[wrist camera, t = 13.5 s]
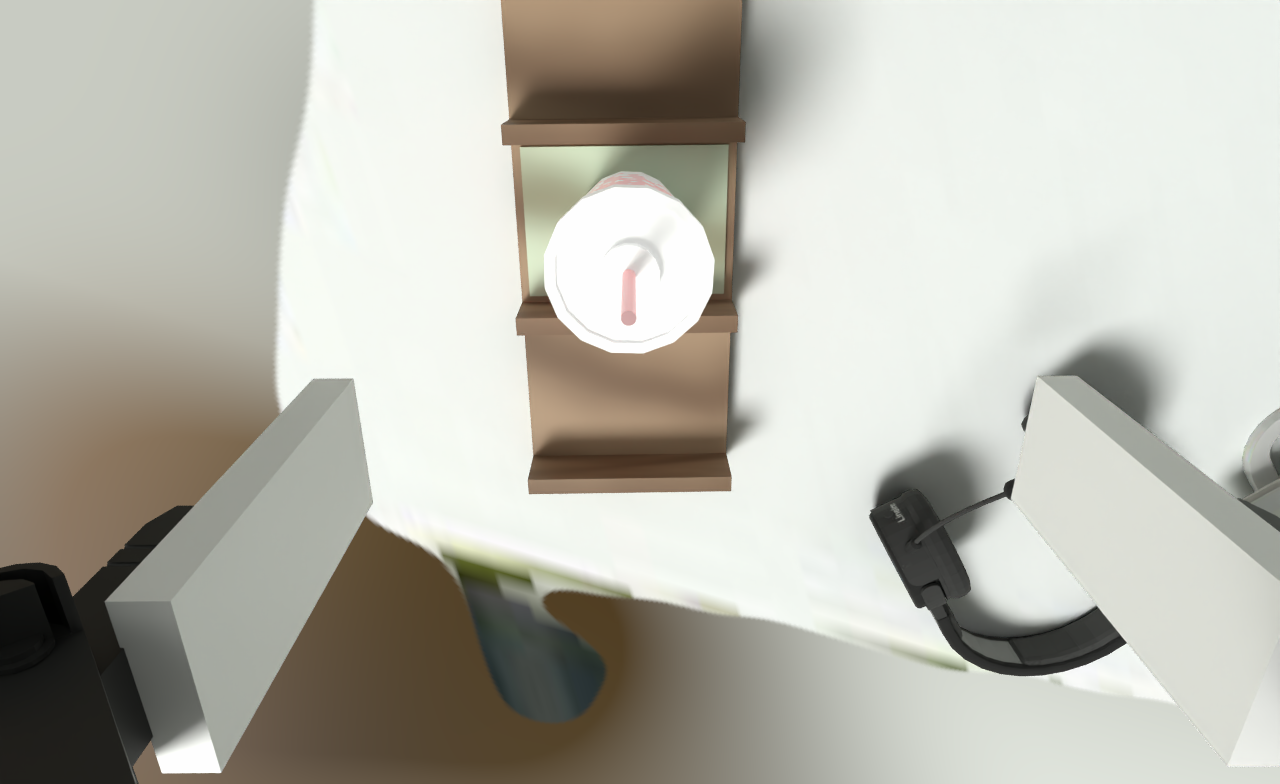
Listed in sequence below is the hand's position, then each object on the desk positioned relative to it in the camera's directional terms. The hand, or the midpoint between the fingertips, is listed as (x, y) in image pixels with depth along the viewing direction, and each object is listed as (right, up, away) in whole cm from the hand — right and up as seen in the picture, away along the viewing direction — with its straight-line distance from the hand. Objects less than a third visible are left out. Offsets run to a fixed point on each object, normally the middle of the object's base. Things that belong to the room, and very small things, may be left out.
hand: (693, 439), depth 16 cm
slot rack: (-2, +9, +22) cm, 24 cm away
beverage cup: (-1, +9, +21) cm, 23 cm away
